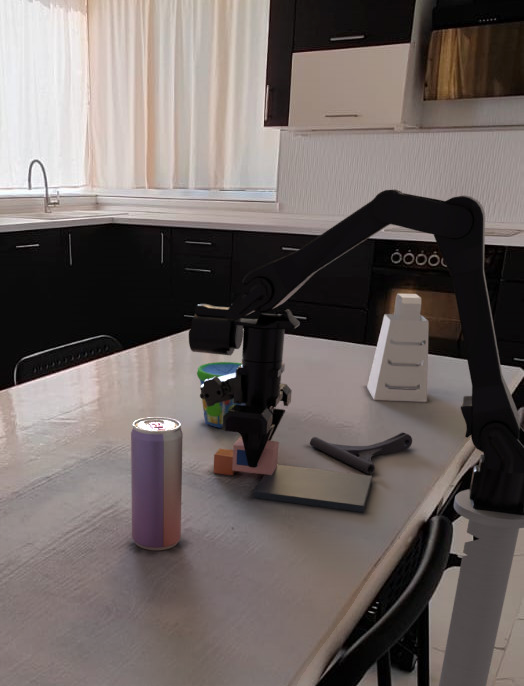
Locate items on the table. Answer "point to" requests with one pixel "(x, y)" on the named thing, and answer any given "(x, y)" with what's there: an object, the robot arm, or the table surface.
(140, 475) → the beverage can
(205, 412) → the snack cup
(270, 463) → the eraser
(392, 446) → the squeegee
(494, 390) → the robot arm
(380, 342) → the grater
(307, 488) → the tray
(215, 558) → the table surface
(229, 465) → the clay cube
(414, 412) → the table surface
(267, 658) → the table surface
